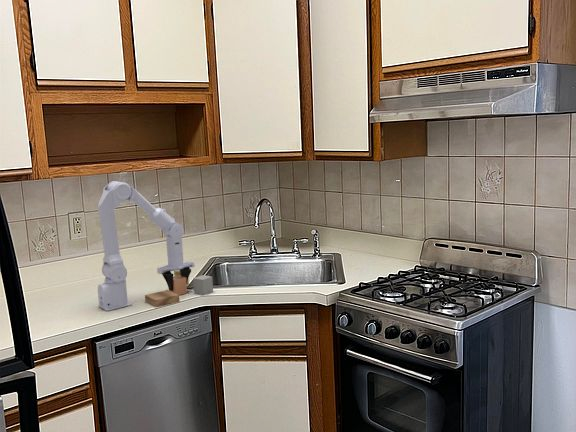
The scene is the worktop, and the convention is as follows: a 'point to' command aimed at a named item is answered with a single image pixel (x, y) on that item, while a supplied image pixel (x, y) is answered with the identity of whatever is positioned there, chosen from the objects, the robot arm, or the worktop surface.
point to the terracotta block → (179, 285)
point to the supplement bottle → (177, 272)
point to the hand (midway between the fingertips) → (177, 288)
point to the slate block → (203, 285)
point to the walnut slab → (162, 298)
